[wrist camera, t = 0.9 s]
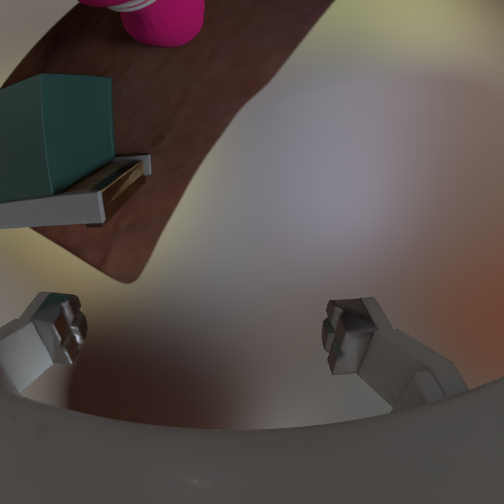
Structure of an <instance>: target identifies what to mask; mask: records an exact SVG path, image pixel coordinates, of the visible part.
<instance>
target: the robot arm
mask: <svg viewBox="0 0 504 504" xmlns="http://www.w3.org/2000/svg"><path fill="white" fill-rule="evenodd" d="M80 307H81V303H80V300H79V298H78V297H77V296H76V295H71V294H61V293H51V292H40V293H38V294H37V296H36V297H35V298H34V300H33V301H32V302H31V303H30V305H29V306H28V307H27V309H26V310H25V311H24V313H23V314H22V315H21V317H20V318H19V319H15V320H13V321H11V322H9V323H7V324H6V325H4V326H2V327H1V328H0V504H504V376H503V377H500V378H498V379H496V380H493V381H491V382H489V383H486V384H484V385H481V386H478V387H476V388H473V389H470V390H469V389H468V387H467V385H466V383H465V382H464V380H463V378H462V377H461V375H460V373H459V372H458V370H457V368H456V367H455V365H454V363H453V362H451V361H450V360H448V359H446V358H444V357H443V356H441V355H440V354H438V353H436V352H435V351H433V350H432V349H430V348H428V347H427V346H425V345H423V344H422V343H420V342H419V341H417V340H415V339H414V338H412V337H410V336H409V335H407V334H405V333H404V332H402V331H401V330H399V329H393V327H392V325H391V324H390V322H389V320H388V319H387V317H386V315H385V313H384V312H383V310H382V308H381V307H380V305H379V303H378V302H377V300H376V299H375V298H373V297H368V298H359V299H343V300H330V301H329V302H328V304H327V308H326V312H327V315H328V317H327V318H326V319H325V320H324V321H323V326H322V343H323V346H324V349H325V350H326V351H327V352H329V356H328V363H329V366H330V369H331V372H332V375H340V374H351V373H357V374H358V375H359V376H360V377H361V378H362V379H363V380H364V381H365V382H366V383H367V384H368V385H369V386H370V387H372V388H373V389H374V390H375V391H376V392H377V393H378V394H379V395H380V396H381V397H382V398H383V399H384V400H386V401H387V402H388V403H389V404H390V405H391V406H392V407H393V409H392V411H391V412H390V413H388V414H383V415H379V416H374V417H368V418H363V419H357V420H351V421H345V422H339V423H331V424H324V425H315V426H305V427H294V428H281V429H260V430H208V429H189V428H176V427H165V426H155V425H147V424H139V423H133V422H126V421H120V420H114V419H109V418H103V417H98V416H93V415H89V414H84V413H79V412H76V411H71V410H67V409H63V408H60V407H56V406H53V405H49V404H45V403H42V402H39V401H36V400H32V399H29V398H26V397H23V396H22V395H21V394H20V393H21V392H22V391H23V390H24V389H25V388H27V387H28V386H29V385H30V384H31V383H32V382H33V381H34V380H35V379H36V378H37V377H39V376H40V375H41V374H42V373H43V372H44V371H45V370H46V369H48V368H49V367H50V366H51V365H52V364H53V362H55V363H61V364H67V365H73V364H74V362H75V360H76V358H77V356H78V353H79V348H78V346H79V345H80V344H82V343H83V342H84V341H85V339H86V337H87V330H88V325H87V320H86V317H85V315H84V314H83V313H82V312H81V311H80Z"/></svg>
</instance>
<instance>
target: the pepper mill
mask: <svg viewBox="0 0 504 504" xmlns="http://www.w3.org/2000/svg"><path fill="white" fill-rule="evenodd" d="M78 1H79V2H81V3H83V4H86V5H89V6H93V7H108V8H109V9H111V10H114V11H118V12H121V19H122V22H123V26H124V28H125V30H126V31H127V32H128V33H129V34H130V35H131V36H132V37H133V38H134V39H135V40H137V41H139V42H141V43H143V44H146V45H151V46H159V47H164V48H171V47H177V46H180V45H183V44H185V43H187V42H189V41H190V40H191V39H193V38H194V37H195V36H196V35H197V33H198V32H199V31H200V29H201V27H202V24H203V20H204V15H203V13H204V7H205V3H204V0H78Z"/></svg>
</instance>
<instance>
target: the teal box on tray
mask: <svg viewBox="0 0 504 504" xmlns="http://www.w3.org/2000/svg"><path fill="white" fill-rule="evenodd" d="M135 160H144V172H145V175H151V174H152V172H151V159H150V154H144V155H133V156H122V157H116V154H115V142H114V127H113V108H112V78H109V77H99V76H87V75H71V74H39V75H36V76H33V77H30V78H28V79H25V80H23V81H20V82H18V83H15V84H13V85H10V86H8V87H6V88H4V89H1V90H0V229H6V228H7V229H8V228H21V227H36V226H52V225H69V224H89V223H103V222H104V221H105V220H106V218H105V212H104V206H103V200H102V193H101V190H94V191H83V192H73V193H63V194H58V193H59V192H61V191H62V190H64V189H65V188H67V187H68V186H70V185H71V184H73V183H74V182H76V181H78V180H79V179H81V178H82V177H84V176H86V175H87V174H89V173H91V172H92V171H94V170H95V169H97V168H99V167H101V166H102V165H104V164H106V163H113V162H123V161H135Z"/></svg>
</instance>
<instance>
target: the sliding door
mask: <svg viewBox="0 0 504 504" xmlns="http://www.w3.org/2000/svg"><path fill="white" fill-rule="evenodd" d="M144 183H145V172H144V160H135V161H123V162H113V163H106V164H104V165H102V166H101V167H99V168H97V169H95V170H94V171H92V172H91V173H89V174H87V175H86V176H84V177H82V178H81V179H79V180H78V181H76V182H74V183H73V184H71V185H70V186H68V187H67V188H65V189H64V190H62V191H61V192H59V193H58V194H63V193H73V192H83V191H94V190H101V193H102V200H103V206H104V212H105V218H106V220H105V221H104V222H103V223H89V224H86V227H87V228H90V227H104V226H105V224H106V223H107V222H108V221H109V220H110V219H111V218H112V217H113V216H114V215H115V213H116V212H117V211H118V210H119V209H120V208H121V207H122V206H123V205H124V204H125V203H126V202H127V201H128V200H129V199H130V198H131V197H132V196H133V194H134V193H135V192H136V191H137V190H138V189H139V188H140V187H141V186H142V185H143V184H144Z"/></svg>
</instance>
